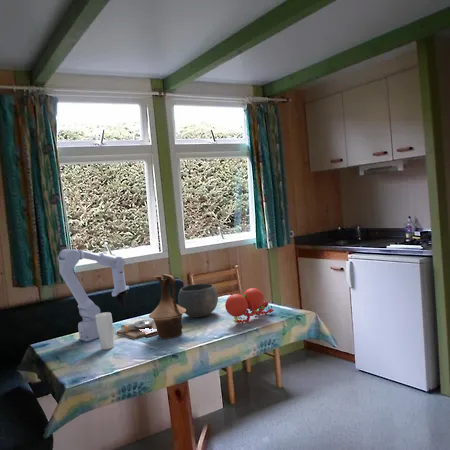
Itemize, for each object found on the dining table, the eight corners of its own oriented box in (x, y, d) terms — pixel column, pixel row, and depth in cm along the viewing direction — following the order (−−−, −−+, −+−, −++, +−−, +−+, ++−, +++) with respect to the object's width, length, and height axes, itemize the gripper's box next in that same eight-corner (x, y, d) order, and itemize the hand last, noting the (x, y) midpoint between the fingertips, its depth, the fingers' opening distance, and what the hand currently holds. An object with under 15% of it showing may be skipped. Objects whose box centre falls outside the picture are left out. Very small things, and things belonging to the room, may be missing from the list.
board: (135, 339, 208) (134, 334, 208) (116, 333, 220) (116, 329, 220) (171, 326, 221) (170, 322, 221) (152, 321, 234) (151, 317, 234)
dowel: (126, 333, 215) (125, 326, 215) (124, 332, 216) (123, 326, 216) (129, 332, 216) (128, 325, 216) (127, 331, 218) (126, 325, 217)
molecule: (244, 329, 203) (232, 296, 204) (228, 331, 211) (217, 299, 212) (280, 310, 219) (269, 280, 221) (264, 313, 228) (254, 284, 229)
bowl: (205, 322, 221) (201, 292, 220) (172, 320, 232) (168, 291, 231) (227, 310, 238) (223, 282, 237) (195, 309, 249) (191, 282, 248)
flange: (151, 322, 226) (151, 317, 226) (154, 327, 218) (153, 321, 217) (120, 328, 222) (120, 323, 222) (122, 333, 213) (121, 328, 213)
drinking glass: (107, 351, 196) (102, 317, 194) (96, 350, 199) (91, 316, 198) (119, 345, 201) (114, 312, 200) (108, 344, 205) (103, 311, 204)
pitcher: (197, 331, 208) (189, 270, 206) (168, 343, 196) (160, 279, 194) (172, 327, 220) (164, 269, 218) (143, 338, 208) (135, 277, 206)
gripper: (118, 277, 238) (122, 303, 239) (104, 284, 224) (108, 311, 225) (131, 276, 236) (134, 302, 237) (117, 283, 222) (121, 310, 223)
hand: (122, 306), depth 231 cm, fingers closed
